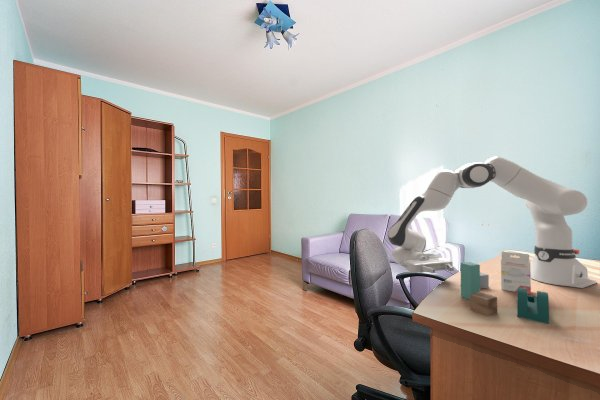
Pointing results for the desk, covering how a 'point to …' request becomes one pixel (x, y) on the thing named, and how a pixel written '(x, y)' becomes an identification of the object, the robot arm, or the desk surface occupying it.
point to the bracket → (533, 306)
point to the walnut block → (483, 303)
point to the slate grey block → (484, 280)
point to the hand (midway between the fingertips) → (443, 270)
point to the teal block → (470, 279)
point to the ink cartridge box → (515, 272)
